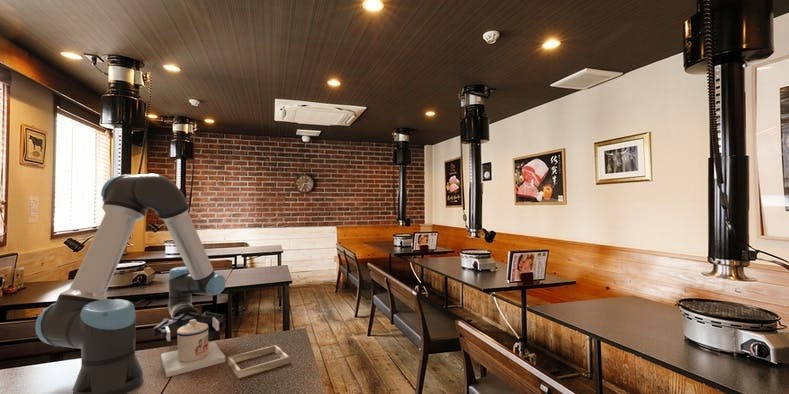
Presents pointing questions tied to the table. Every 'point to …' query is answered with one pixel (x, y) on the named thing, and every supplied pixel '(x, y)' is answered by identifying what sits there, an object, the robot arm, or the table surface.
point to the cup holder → (261, 367)
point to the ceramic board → (177, 367)
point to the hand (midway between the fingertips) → (194, 331)
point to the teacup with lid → (192, 341)
